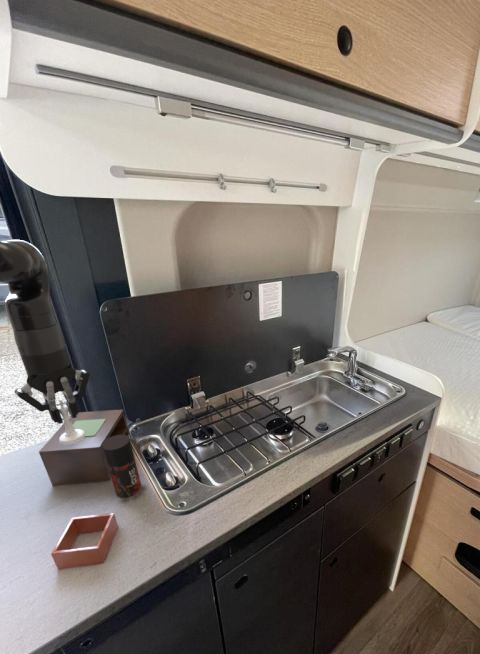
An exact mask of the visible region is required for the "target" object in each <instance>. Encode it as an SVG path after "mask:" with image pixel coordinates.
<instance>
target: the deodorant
mask: <svg viewBox="0 0 480 654" xmlns="http://www.w3.org/2000/svg"><path fill="white" fill-rule="evenodd" d="M130 438H131V437H130ZM130 438H129V436H127V435H115V436H112V437H110V438H108V439H106V440H105V441H104V442H103V443H102V448H103V452H104V455H105V458H106V462H107V465H108V468H109V472H110V475H111V481H112V485H113V488H114V491H115V495H116V496H117V497H118V498H121V499H128V498H131V497H133V496H135V495H136V494H137V493H139V492H140V491H141V490H142V482H141V477H140V474H139V470H138V466H137V463H136V458H135V454H134V450H133V446H132V442H131V439H130Z"/></svg>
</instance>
